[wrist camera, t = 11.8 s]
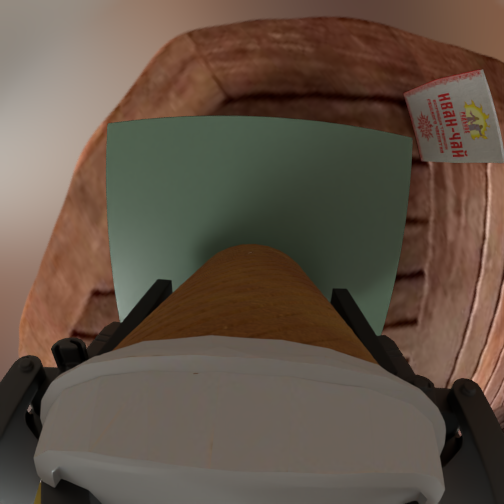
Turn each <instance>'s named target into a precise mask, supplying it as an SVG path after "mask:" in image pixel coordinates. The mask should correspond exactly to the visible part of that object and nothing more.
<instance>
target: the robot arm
mask: <svg viewBox="0 0 504 504" xmlns="http://www.w3.org/2000/svg"><path fill="white" fill-rule="evenodd" d="M172 293H173V292H172V280H166V279H157V280H156V281H155V283H154V284H153V285H152V286H151V287H150V289H149V290H148V291H147V292H146V293H145V295H144V296H143V297H142V298H141V299H140V301H139V302H138V303H137V304H136V305H135V307H134V308H133V309H132V310H131V312H130V313H129V314H128V315H127V317H126V318H125V319H124V320H123V321H122V323H120V322H112V323H111V324H109V325H107V326H105V327H104V329H103V330H102V331H101V332H100V333H99V335H98V336H97V337H96V338H95V340H93V342H92V343H91V344H90V345H89V346H88V348H87V349H86V345H85V343H84V342H83V341H82V340H81V339H78V338H71V337H70V338H64V339H62V340H59V341H58V342H56V343H55V344H54V345H53V346H52V348H51V350H52V353H53V356H54V358H55V361H56V364H57V366H58V368H54V367H43V365H42V363H41V360H40V359H39V358H38V357H36V356H31V355H28V356H23V357H21V358H19V359H18V360H17V361H16V362H15V363H14V364H13V365H12V367H11V368H10V369H9V371H8V372H7V374H6V375H5V377H4V378H3V379H2V381H1V382H0V504H34V501H35V497H36V494H37V490H38V487H39V484H40V480H41V478H40V477H39V476H38V475H37V471H36V467H35V462H34V454H35V451H36V447H37V444H38V441H39V438H40V435H41V431H42V428H43V426H42V423H41V419H40V413H41V400H42V398H43V396H44V395H45V393H46V391H47V389H48V387H49V386H50V384H51V382H52V381H54V380H55V379H56V378H57V377H58V376H59V375H61V374H62V373H64V372H66V371H68V370H70V369H72V368H74V367H76V366H78V365H79V364H81V363H83V362H85V361H87V360H89V359H91V358H92V357H94V356H100V355H102V354H104V353H107V352H111V351H112V350H113V349H114V348H115V347H117V346H118V344H119V343H120V342H121V341H122V340H123V339H124V338H125V337H127V336H128V335H129V334H130V333H131V332H132V331H133V330H134V329H135V328H136V327H137V326H138V325H139V324H140V323H141V322H142V321H143V320H144V319H145V318H146V317H147V316H149V315H150V314H151V313H152V312H153V311H154V310H155V309H156V308H157V307H158V306H159V305H160V304H161V303H162V302H163V301H165V300H166V299H167V298H168V297H169V296H170V295H171V294H172ZM330 304H331V305H332V306H333V307H334V309H335V310H336V311H337V312H338V314H339V315H340V316H341V317H342V319H343V320H344V321H345V322H346V324H347V325H348V326H349V327H350V328H351V329H352V330H353V332H354V334H355V335H356V336H357V337H358V339H359V340H360V341H361V342H362V343H363V345H364V346H365V347H366V349H367V350H368V351H369V352H370V354H371V355H372V356H373V358H374V359H375V360H376V361H377V363H378V364H379V365H380V366H381V367H382V368H383V369H385V370H386V371H387V372H389V373H391V374H393V375H395V376H397V377H399V378H400V379H402V380H404V381H406V382H408V383H410V384H411V385H413V386H415V387H417V388H419V389H420V390H421V391H422V392H423V393H424V394H425V395H426V396H427V397H428V398H429V399H430V400H431V401H432V402H433V403H434V404H435V405H436V406H437V407H438V409H439V411H440V413H441V415H442V417H443V419H444V421H445V427H446V435H445V444H444V447H443V449H442V452H441V454H440V461H441V467H442V472H443V479H444V485H445V491H444V493H443V495H442V497H441V499H440V501H439V502H438V503H437V504H504V433H503V431H502V429H501V427H500V424H499V422H498V420H497V418H496V416H495V414H494V412H493V410H492V408H491V407H490V405H489V403H488V401H487V399H486V397H485V395H484V393H483V392H482V390H481V388H480V387H479V385H478V384H477V383H475V382H474V381H472V380H470V379H464V378H461V379H458V380H456V381H455V382H454V384H453V386H452V387H451V389H445V388H435V387H434V384H433V383H432V382H431V381H430V380H429V379H427V378H426V377H423V376H420V375H415V373H414V372H413V370H412V369H411V367H410V365H409V364H408V362H407V361H406V359H405V358H404V356H402V353H401V352H400V350H399V348H398V347H397V345H396V344H395V342H394V341H393V340H391V339H390V338H389V337H387V336H386V335H380V336H376V334H375V332H374V331H373V329H372V327H371V326H370V324H369V323H368V321H367V319H366V318H365V316H364V315H363V313H362V311H361V310H360V308H359V307H358V305H357V304H356V302H355V300H354V299H353V297H352V296H351V294H350V293H349V291H348V290H347V289H340V288H333V289H332V296H331V301H330ZM29 405H31V407H32V409H31V411H30V412H28V411H27V409H28V407H29ZM459 429H460V431H461V434H462V435H461V437H460V436H459V434H458V431H459ZM41 504H102V503H101V502H100V501H99V500H98V499H97V498H96V497H95V496H94V495H93V494H92V493H91V492H90V491H89V490H87V489H85V488H83V487H80V486H78V485H76V484H73V483H71V482H69V481H67V480H64V479H60V481H59V482H58V484H57V485H56V487H55V488H54V487H52V486H50V485H49V484H47V483H45V482H43V481H42V480H41ZM405 504H419V503H418V501H411V502H408V503H405Z"/></svg>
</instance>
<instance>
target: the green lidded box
mask: <svg viewBox="0 0 504 504" xmlns="http://www.w3.org/2000/svg"><path fill="white" fill-rule="evenodd" d="M412 140H413V139H412V138H411V137H407V136H402V135H398V134H393V133H389V132H384V131H379V130H373V129H368V128H362V127H356V126H350V125H344V124H337V123H329V122H321V121H312V120H303V119H292V118H278V117H261V116H182V117H164V118H152V119H141V120H131V121H123V122H115V123H109V124H108V128H107V150H106V196H107V219H108V234H109V245H110V256H111V265H112V273H113V281H114V288H115V295H116V301H117V307H118V313H119V318H120V323H122V321H123V320H124V319H125V318H126V317H127V315H128V314H129V313H130V312H131V310H132V309H133V308H134V307H135V305H136V304H137V303H138V302H139V301H140V299H141V298H142V297H143V296H144V295H145V293H146V292H147V291H148V290H149V289H150V287H151V286H152V285H153V284H154V283H155V281H156V280H157V279H166V280H172V292H174V291H175V290H176V289H177V288H179V286H180V285H181V284H183V283H184V282H185V281H186V280H187V279H188V278H189V277H190V276H191V275H193V274H194V273H195V272H196V271H197V270H198V269H199V268H200V267H201V266H202V265H204V264H205V263H206V262H207V261H208V260H209V259H210V258H212V257H213V256H214V255H215V254H217V253H218V252H220V251H222V250H225V249H227V248H229V247H233V246H237V245H242V244H258V245H264V246H269V247H272V248H274V249H277V250H280V251H281V252H283V253H285V254H286V255H288V256H289V257H291V258H292V259H293V260H294V261H295V262H296V263H297V264H298V265H299V266H300V267H301V268H302V270H303V271H304V272H305V273H306V275H307V276H308V277H309V278H310V280H311V281H312V282H313V283H314V285H315V286H317V288H318V289H319V290H320V291H321V293H322V294H323V295H324V296H325V297H326V298H327V300H328V302H329V303H330V301H331V296H332V289H333V288H340V289H347V290H348V291H349V293H350V294H351V296H352V297H353V299H354V300H355V302H356V304H357V305H358V307H359V308H360V310H361V311H362V313H363V315H364V316H365V318H366V319H367V321H368V323H369V324H370V326H371V327H372V329H373V331H374V332H375V334H376V336H380V335H381V333H382V330H383V326H384V323H385V319H386V315H387V312H388V308H389V304H390V300H391V296H392V291H393V287H394V283H395V278H396V273H397V268H398V263H399V258H400V253H401V247H402V241H403V235H404V229H405V222H406V214H407V206H408V198H409V188H410V176H411V162H412Z"/></svg>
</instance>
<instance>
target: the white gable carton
mask: <svg viewBox="0 0 504 504" xmlns="http://www.w3.org/2000/svg"><path fill="white" fill-rule="evenodd" d="M403 95H404V98H405V101H406V104H407V107H408V111H409V114H410V118H411V121H412V125H413V129H414V133H415V137H416V141H417V145H418V149H419V154H420V158H421V161H431V162H451V163H503V162H504V149H503V143H502V138H501V133H500V128H499V124H498V119H497V115H496V111H495V107H494V104H493V100H492V97H491V93H490V90H489V87H488V83H487V80H486V77H485V75H484V72H483V70H480V69H479V70H475V71H470V72H466V73H462V74H457V75H453V76H448V77H444V78H440V79H436V80H433V81H431V82H428V83H426V84H423V85H421V86H419V87H416V88H414V89H412V90H409V91H407V92H405V93H403Z"/></svg>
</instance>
